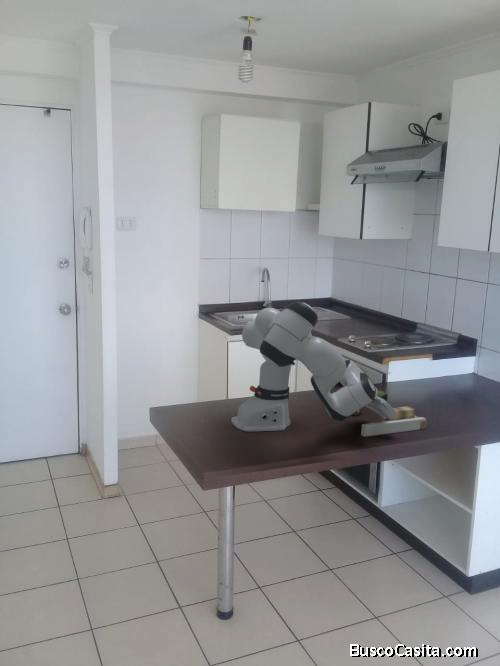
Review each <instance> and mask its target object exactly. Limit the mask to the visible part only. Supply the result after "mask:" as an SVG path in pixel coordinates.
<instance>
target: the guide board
mask: <svg viewBox="0 0 500 666" xmlns="http://www.w3.org/2000/svg"><path fill="white" fill-rule="evenodd" d="M427 422H428V421H427V418H425V417H424V416H422V417H420V416H417V415H415V416H414V418H411V419H403V420H394V421H386V422H382V421H380V422H371V423H370V422H369V423H363V424H361V431H360V432H361V433H360V435H361V436H362V437H365V438H366V437H373V436H379V435H380V436H381V435H387V434H394V433H402V432H411V431H417V430H425V429H427Z"/></svg>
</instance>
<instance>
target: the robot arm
mask: <svg viewBox="0 0 500 666" xmlns="http://www.w3.org/2000/svg"><path fill="white" fill-rule="evenodd" d="M318 320H319V317H318V314H317V312H316V311H315V309H314V308H313V307H312V306H311V305H310V304H308V303H306V302H302V301H299V300H298V301H292V302H291V303H289V304H287V305H286V304H285V305H283V309H282V310H281V311H280V310H279V309H277V308H274V307H265V308H262V309H261V310H260V311H259V312H258V313H257V314H256V316H255V319H254V320H249V321H247V322H246V323H245V325H244V326H243V328H242V331H241V337H242V341H243V343H244V344H245V346H246V347H250V348H251V349H252V348H253V349H255V350H259V353H260V355H261V356H262V358H263V359H264V360H265V361H264V362H263V363H262V364H261V365H260V366H259V367H260V368H259V380H258V381H259V382H258V385H257V387H256V386H254V385H250V387H249V391H250V392H252V393H253V394H254V395H252V396H251V397H250V398H248V399H247V400H246V401H245V402H243V403H242V404H240V406H239V407H238V410H237V414H236V415H237V416H233V417H231V421H230V422H231V424H232V425H233V426H234V428H237V429H238V430H239V431H243V432H264V431H265V432H268V431H269V432H273V431H284V430H286V428H288V427H289V426H290V425H291V419H290V412H289V399H290V386H289V383H290V376H291V375H290V374H291V368H292V366H295V365H296V363H295V361H296V360H297V361H298V362H300V363H302V364H303V365H304V366H305V368H306V369H307V370H308V371H309V372H310V373H311V374H312V375H311V378H310V384H311V386H312V388H313V390H314V392H315V393H316V394H317V397H318V398H319V400H320V401H321V403H322V404H323V405H324V408H325V410H326V412H327V414H328V415H329V417H330V418H332V419H333V420H334V421H338V422H339V421H340V422H343V421H345V420H346V419H348V418H349V417H351V416H353V415H352V414H353V413H355V412H356V411H358V410H359V409H361V410H362V408H367V409H369V410H371V411H373V412H375V413H376V414H378V415H379V417H380V418H382V417H383V418H388V419H391V418H392V417H393V416H394V415H395V414H396V411H395V410H394V409H393V408H394V407H392V406H391V404H390V403H388V401H385V400H384V399H382V398H380V397H378V396H377V393H378V390H379V389H377V387H376V385H375V384H374V382H373V380H371V378H370V377H369V376H368V374H366V373H365V372H364V371H363V370H362V369H361V368H360V366H358V365H357V364H356V363H355V362H354V361H352V360H351V359H345V358H344V356H343V355H342V353H341V352H340V351H339V350H338V349H337V348H336V347H335V346H333V344H331V343H329V342H328V341H327V340H325V339H323V338H321V337H319V336H313V334H312V330H313V329H314V328H315V327H316V325H317V322H318ZM339 382H340V384H341V385H342V386H343V387H341V388H339V389H338V390H336V391H335V392H332V393H331V392H330V391H331V390H332V389H333V388H334V387H335V386H336V385H337V384H338V383H339Z"/></svg>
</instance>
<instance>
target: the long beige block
mask: <svg viewBox="0 0 500 666" xmlns="http://www.w3.org/2000/svg"><path fill="white" fill-rule="evenodd" d="M392 408H393V409H394V410H395V411H396V414H395V415H394V416H393V417H392V418H391V419H388V418H383V417H381V422H386V421H394V420H403V419H411V418H414V416H416V415H415V414H416V409H415V408H413V407H411V406H409V405H407V406H400V407H392Z"/></svg>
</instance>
